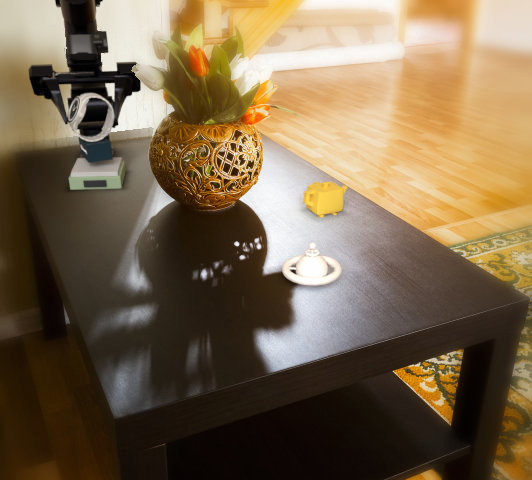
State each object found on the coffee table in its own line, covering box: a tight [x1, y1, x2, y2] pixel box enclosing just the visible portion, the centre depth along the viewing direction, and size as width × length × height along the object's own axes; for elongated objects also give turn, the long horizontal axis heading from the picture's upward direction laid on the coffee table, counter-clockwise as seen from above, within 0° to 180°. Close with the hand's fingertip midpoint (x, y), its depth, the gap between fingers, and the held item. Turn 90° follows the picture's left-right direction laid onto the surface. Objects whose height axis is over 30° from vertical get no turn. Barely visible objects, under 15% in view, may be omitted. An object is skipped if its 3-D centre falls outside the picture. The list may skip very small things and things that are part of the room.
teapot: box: [302, 181, 348, 218], centre depth 104 cm, size 8×6×5 cm
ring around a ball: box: [281, 242, 343, 287], centre depth 83 cm, size 8×6×8 cm
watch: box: [67, 93, 115, 163], centre depth 111 cm, size 6×8×11 cm
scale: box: [68, 156, 127, 191], centre depth 116 cm, size 9×9×3 cm
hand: (91, 122), depth 110 cm, fingers closed on watch, 8 cm apart
